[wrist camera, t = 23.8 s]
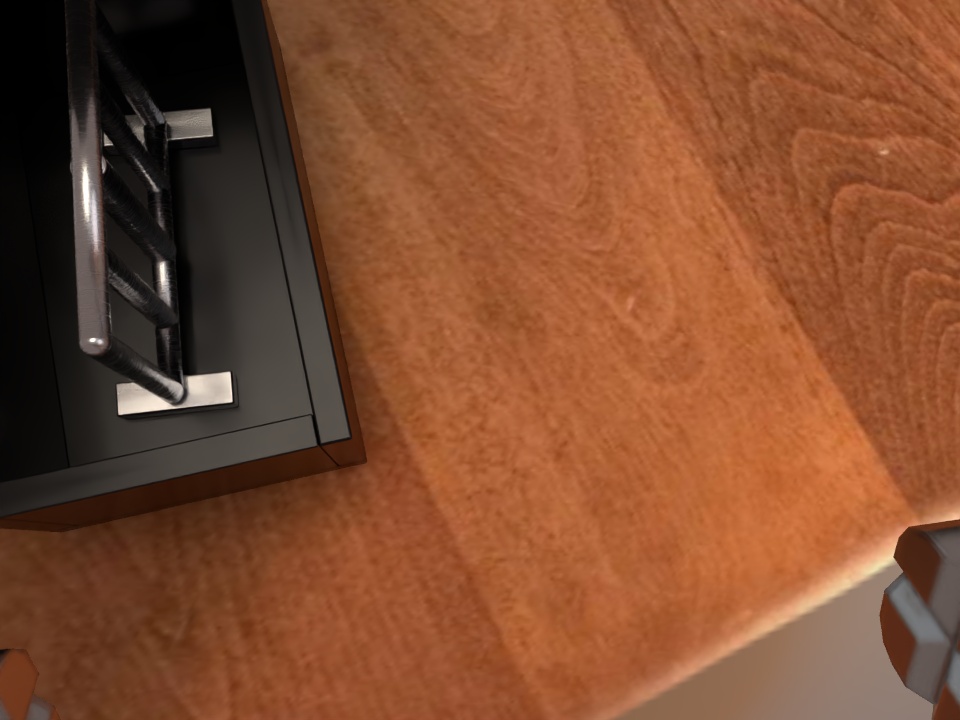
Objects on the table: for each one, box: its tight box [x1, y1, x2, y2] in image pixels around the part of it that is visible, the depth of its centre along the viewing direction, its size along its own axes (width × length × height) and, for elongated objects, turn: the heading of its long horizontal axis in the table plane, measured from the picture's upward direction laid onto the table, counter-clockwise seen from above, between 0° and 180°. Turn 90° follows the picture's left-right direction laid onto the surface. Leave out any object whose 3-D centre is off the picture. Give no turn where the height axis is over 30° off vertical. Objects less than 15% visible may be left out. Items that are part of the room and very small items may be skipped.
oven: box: [0, 0, 367, 532], centre depth 31 cm, size 17×11×7 cm, turn 13°
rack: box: [65, 0, 238, 420], centre depth 29 cm, size 11×4×9 cm, turn 7°
